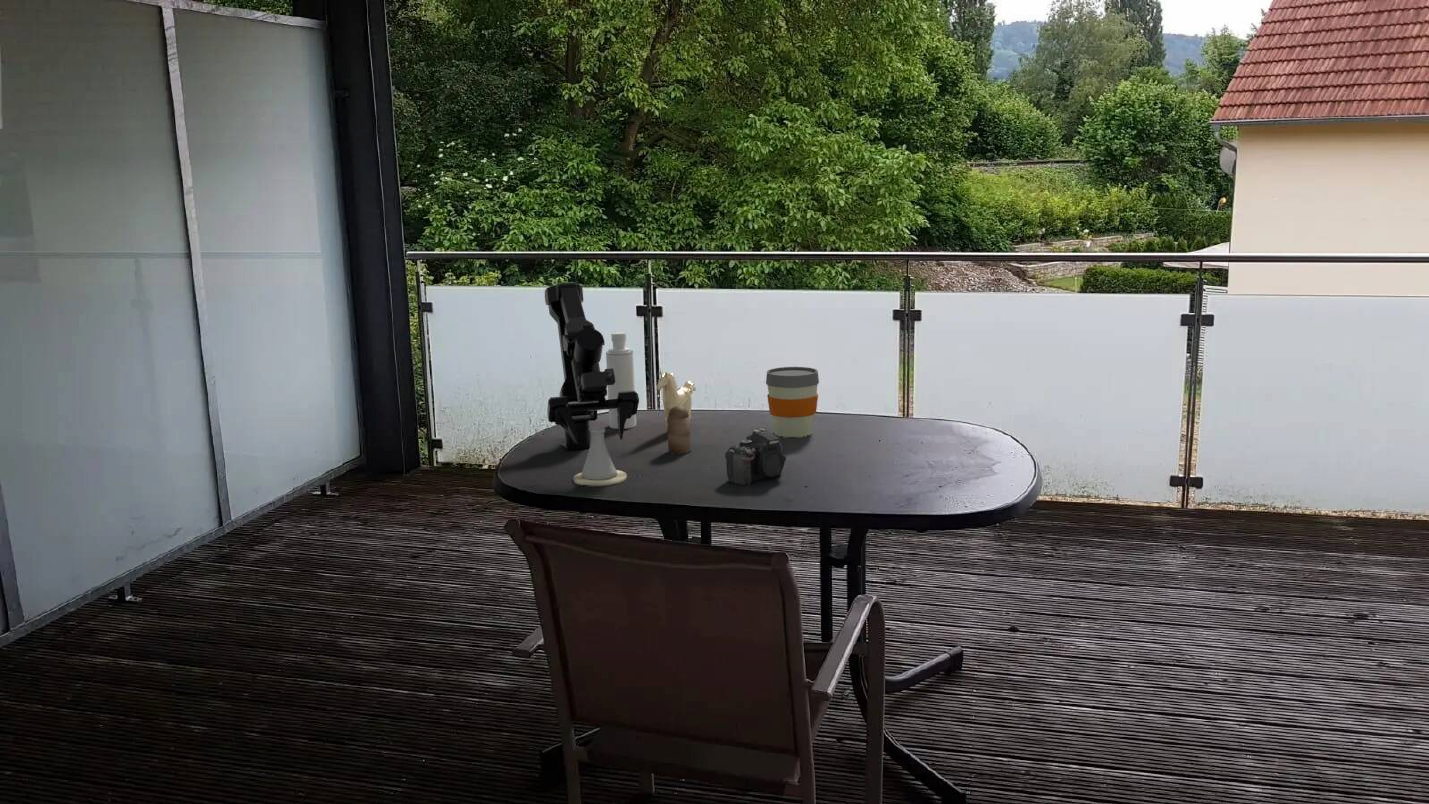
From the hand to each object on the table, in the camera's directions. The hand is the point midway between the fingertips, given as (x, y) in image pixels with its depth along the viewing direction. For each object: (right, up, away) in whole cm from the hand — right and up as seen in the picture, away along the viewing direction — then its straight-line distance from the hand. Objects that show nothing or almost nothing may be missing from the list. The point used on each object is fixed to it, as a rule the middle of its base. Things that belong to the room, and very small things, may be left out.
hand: (599, 440), depth 234 cm
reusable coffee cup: (+42, 0, +38) cm, 57 cm away
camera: (+33, -8, 0) cm, 34 cm away
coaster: (0, -8, +3) cm, 9 cm away
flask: (0, -8, +3) cm, 8 cm away
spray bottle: (+1, +2, +51) cm, 51 cm away
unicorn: (+15, +1, +44) cm, 47 cm away
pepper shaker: (+16, -3, +24) cm, 29 cm away
